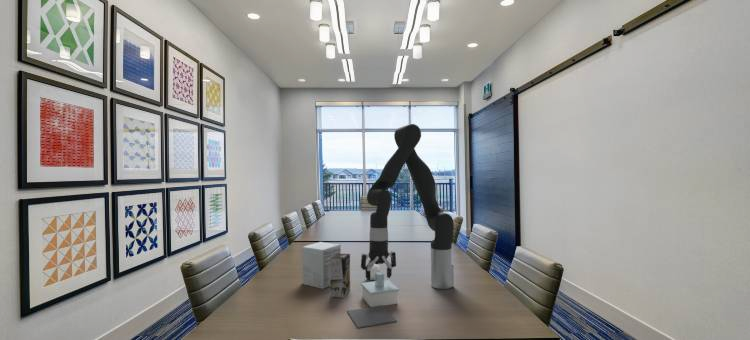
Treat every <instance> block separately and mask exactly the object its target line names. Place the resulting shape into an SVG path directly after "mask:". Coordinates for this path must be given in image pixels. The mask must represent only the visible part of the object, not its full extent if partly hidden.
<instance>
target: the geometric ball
mask: <svg viewBox="0 0 750 340" xmlns="http://www.w3.org/2000/svg"><path fill="white" fill-rule="evenodd" d="M378 272H382V271H381V267H380V266H379V264H374V265H373V267H371V269H370V280H369V281H375V273H378ZM364 274H365V275H364V276H366V270H364Z"/></svg>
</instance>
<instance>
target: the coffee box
mask: <svg viewBox="0 0 750 340" xmlns="http://www.w3.org/2000/svg"><path fill="white" fill-rule="evenodd" d="M329 288H330V289H329V291H330V293H329V294H330V297H332V298H343V299H344V298H346V296H347V294H349V292H351V254H350V253H341V254H336V255H334V256H333V257H332V258H330V286H329Z"/></svg>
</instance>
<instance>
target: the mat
mask: <svg viewBox="0 0 750 340" xmlns="http://www.w3.org/2000/svg"><path fill="white" fill-rule="evenodd" d="M346 312H347V315H349V317H350V319H351V320H352V321H353V324H354V325H355V327H356V329H362V328H369V327H374V326H380V325H385V324H386V325H387V324H392V323H397V319H396V318H395V317H394V316H393V315H392V314H391V313H390V312H389V310H387V308H386V307H385V306H383V305H381V306H375V307H370V306H368V307H363V308H355V309H350V310H349V309H348V310H347V311H346Z"/></svg>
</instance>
